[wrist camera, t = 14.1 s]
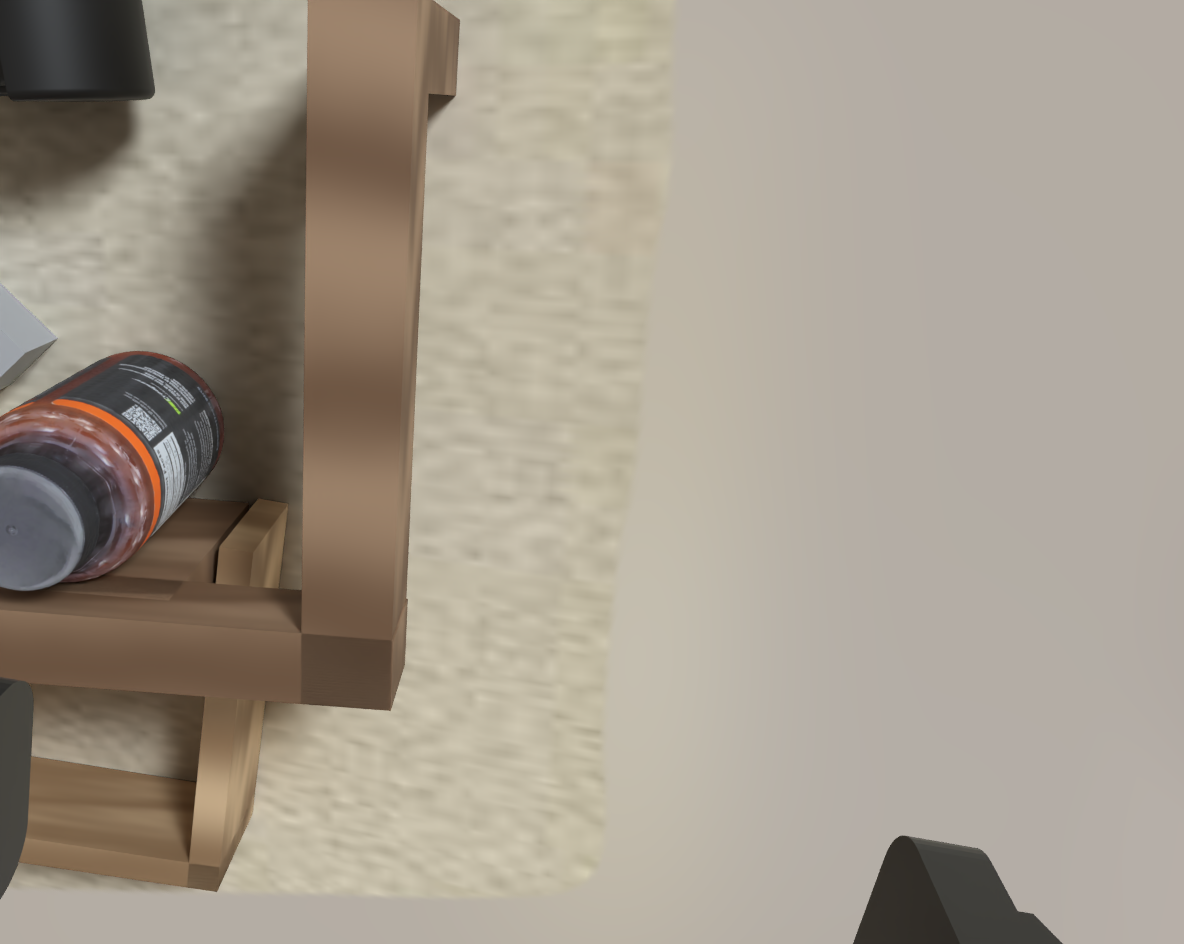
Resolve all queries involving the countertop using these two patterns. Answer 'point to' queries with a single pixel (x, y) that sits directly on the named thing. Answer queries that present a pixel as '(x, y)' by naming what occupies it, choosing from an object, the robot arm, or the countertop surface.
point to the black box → (74, 51)
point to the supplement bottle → (101, 466)
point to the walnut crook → (331, 426)
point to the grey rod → (19, 338)
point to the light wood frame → (157, 804)
